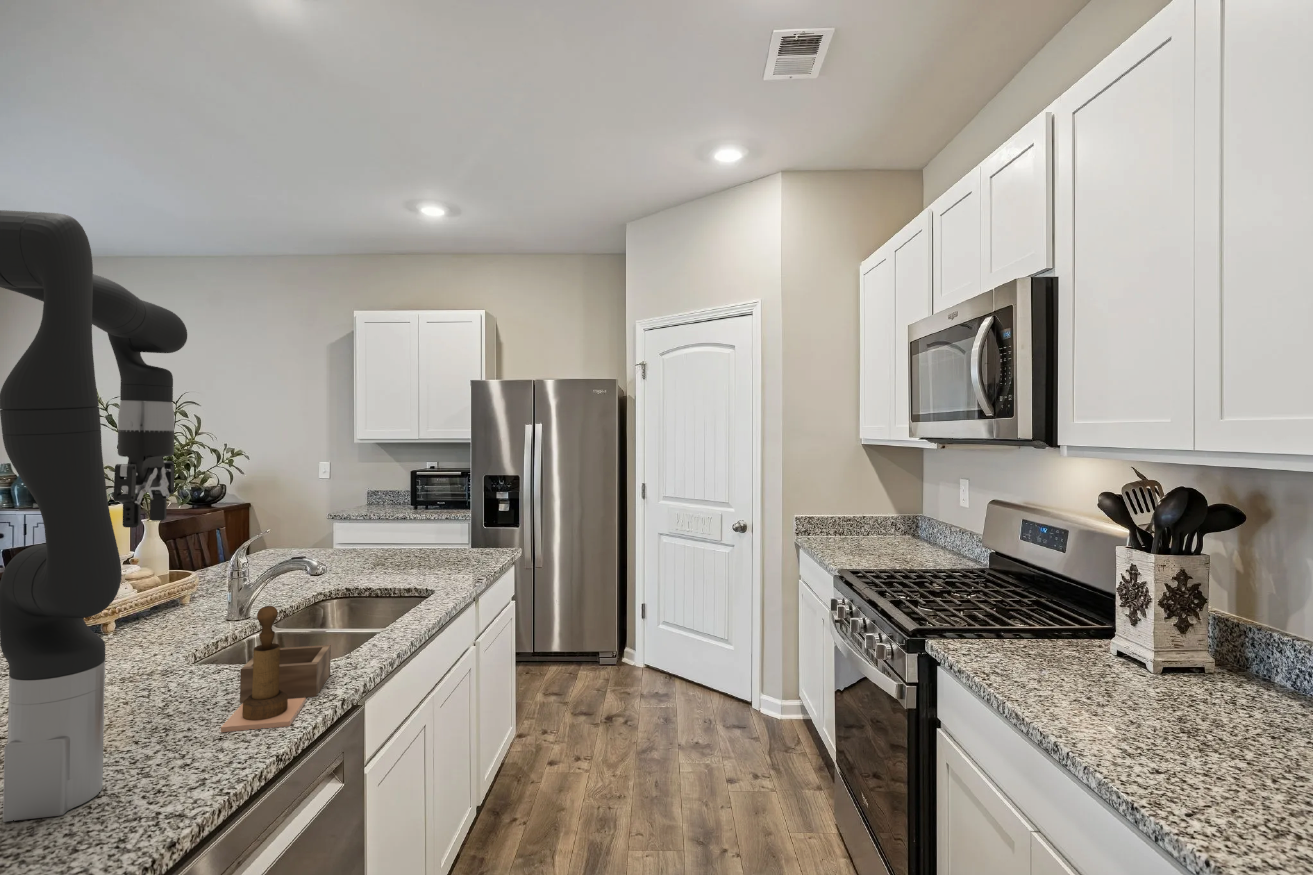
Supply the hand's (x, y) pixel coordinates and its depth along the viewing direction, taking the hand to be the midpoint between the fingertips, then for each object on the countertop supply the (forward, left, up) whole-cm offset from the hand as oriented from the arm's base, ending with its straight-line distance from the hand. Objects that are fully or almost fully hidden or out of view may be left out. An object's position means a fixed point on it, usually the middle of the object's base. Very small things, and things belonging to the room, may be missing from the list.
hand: (145, 523), depth 110 cm
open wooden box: (+8, -20, -33) cm, 39 cm away
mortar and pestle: (-5, -20, -32) cm, 38 cm away
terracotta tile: (-5, -20, -33) cm, 39 cm away
